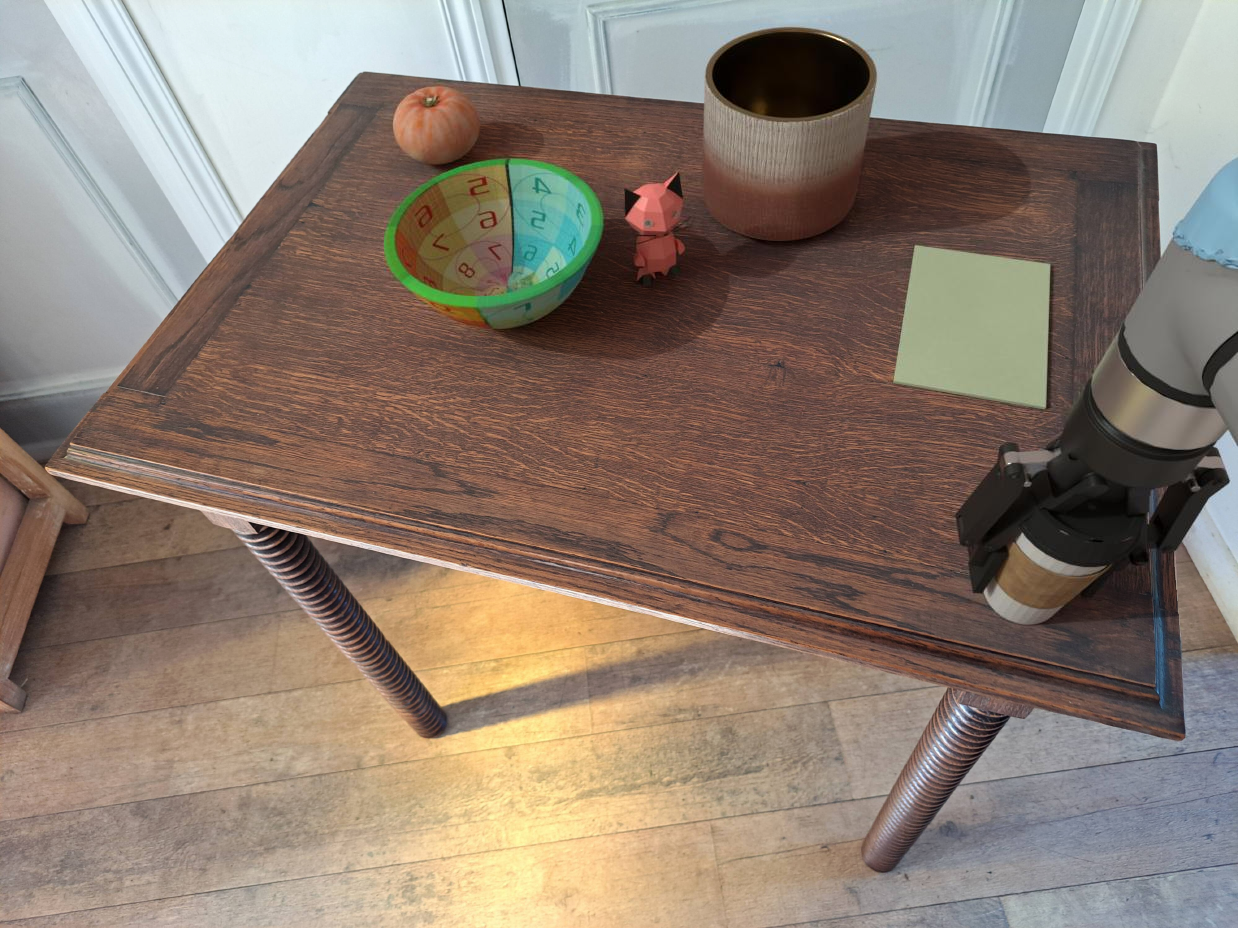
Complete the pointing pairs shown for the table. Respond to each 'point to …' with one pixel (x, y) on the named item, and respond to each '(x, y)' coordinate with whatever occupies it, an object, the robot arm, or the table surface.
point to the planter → (785, 131)
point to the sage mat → (976, 327)
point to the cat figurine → (656, 227)
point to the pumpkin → (436, 125)
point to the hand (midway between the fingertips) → (1028, 579)
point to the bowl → (495, 241)
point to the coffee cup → (1059, 557)
